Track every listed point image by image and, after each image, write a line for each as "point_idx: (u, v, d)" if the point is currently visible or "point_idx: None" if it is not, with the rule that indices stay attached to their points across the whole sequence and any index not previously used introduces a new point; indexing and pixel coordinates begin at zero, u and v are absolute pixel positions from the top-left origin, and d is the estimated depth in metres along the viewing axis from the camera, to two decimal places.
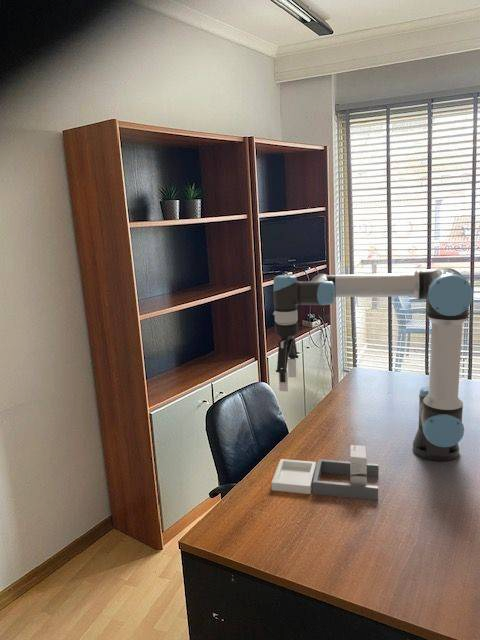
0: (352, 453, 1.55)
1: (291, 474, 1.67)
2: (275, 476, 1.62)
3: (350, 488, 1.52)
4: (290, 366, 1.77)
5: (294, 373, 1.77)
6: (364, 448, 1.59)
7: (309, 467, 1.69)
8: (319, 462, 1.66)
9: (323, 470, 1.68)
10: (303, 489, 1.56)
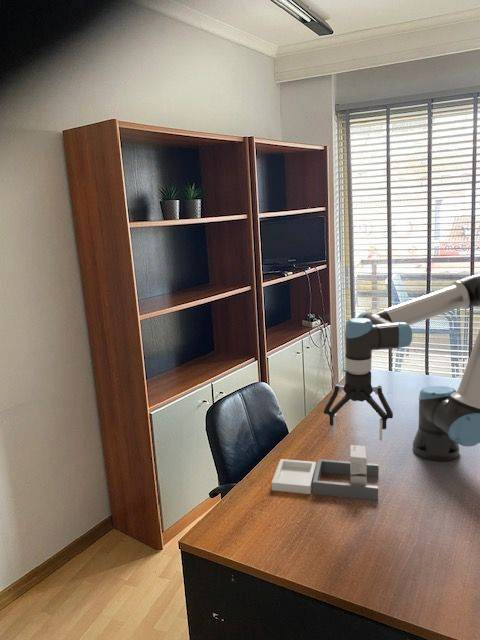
0: (352, 453, 1.55)
1: (291, 474, 1.67)
2: (275, 476, 1.62)
3: (350, 488, 1.52)
4: None
5: None
6: (364, 448, 1.59)
7: (309, 467, 1.69)
8: (319, 462, 1.66)
9: (323, 470, 1.68)
10: (303, 489, 1.56)
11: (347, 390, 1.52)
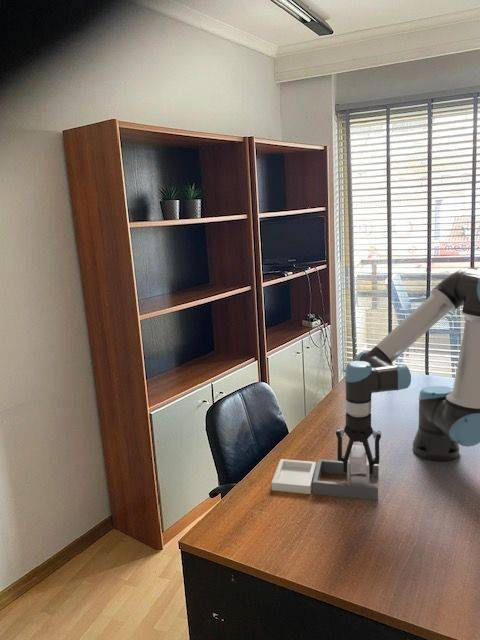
0: (352, 453, 1.55)
1: (291, 474, 1.67)
2: (275, 476, 1.62)
3: (350, 488, 1.52)
4: None
5: None
6: (364, 448, 1.58)
7: (309, 467, 1.69)
8: (319, 462, 1.66)
9: (323, 470, 1.68)
10: (303, 489, 1.56)
11: (348, 431, 1.55)
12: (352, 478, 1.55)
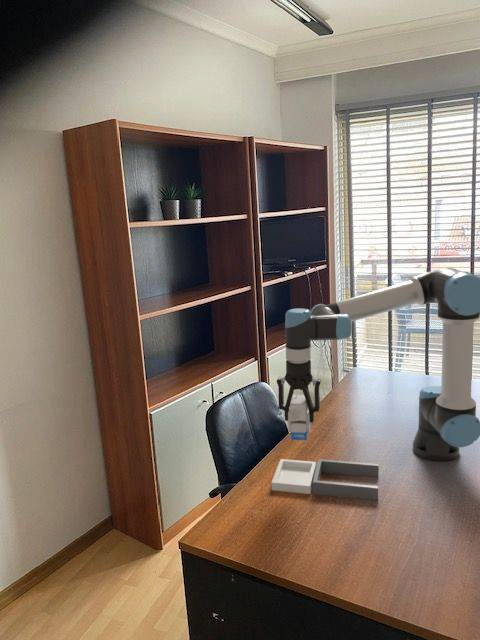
0: (292, 401, 1.56)
1: (291, 474, 1.67)
2: (275, 476, 1.62)
3: (350, 488, 1.52)
4: None
5: (307, 427, 1.58)
6: None
7: (309, 467, 1.69)
8: (319, 462, 1.66)
9: (323, 470, 1.68)
10: (303, 489, 1.56)
11: (288, 379, 1.56)
12: (292, 425, 1.56)
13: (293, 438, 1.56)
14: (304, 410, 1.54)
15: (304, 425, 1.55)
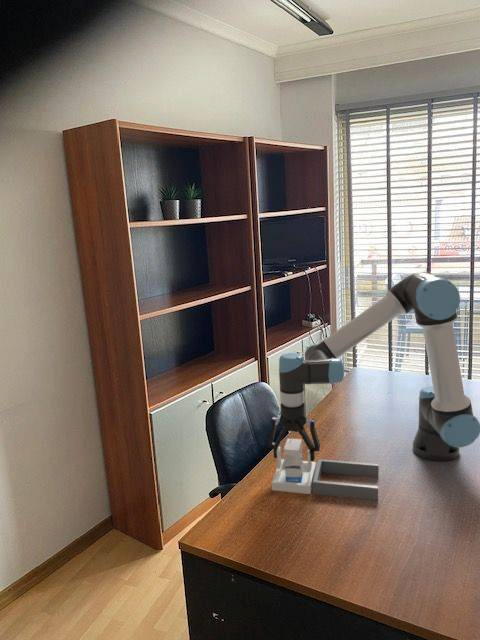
0: (286, 446, 1.61)
1: None
2: (275, 476, 1.62)
3: (350, 488, 1.52)
4: None
5: (308, 466, 1.62)
6: (299, 441, 1.64)
7: None
8: (319, 462, 1.66)
9: (323, 470, 1.68)
10: (303, 489, 1.56)
11: (283, 421, 1.60)
12: (286, 470, 1.60)
13: None
14: (297, 456, 1.58)
15: (298, 470, 1.59)
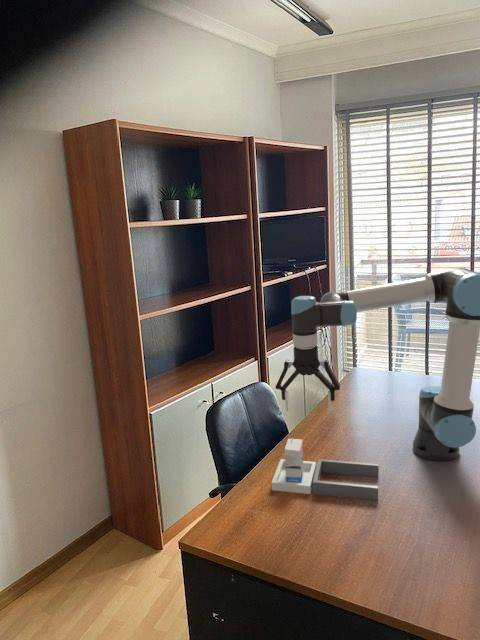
0: (287, 446, 1.61)
1: None
2: (275, 476, 1.62)
3: (350, 488, 1.52)
4: None
5: None
6: (300, 441, 1.64)
7: (309, 467, 1.69)
8: (319, 462, 1.66)
9: (323, 470, 1.68)
10: (303, 489, 1.56)
11: (296, 365, 1.60)
12: (286, 470, 1.60)
13: None
14: (298, 456, 1.58)
15: (298, 470, 1.59)
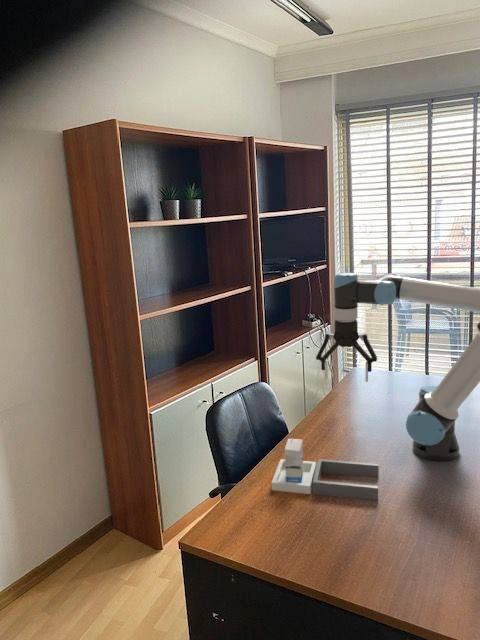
0: (287, 446, 1.61)
1: None
2: (275, 476, 1.62)
3: (350, 488, 1.52)
4: None
5: None
6: (300, 441, 1.64)
7: (309, 467, 1.69)
8: (319, 462, 1.66)
9: (323, 470, 1.68)
10: (303, 489, 1.56)
11: (336, 337, 1.72)
12: (286, 470, 1.60)
13: None
14: (298, 456, 1.58)
15: (298, 470, 1.59)
